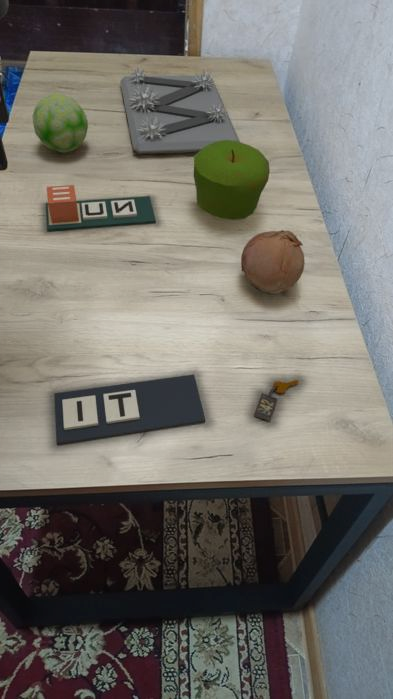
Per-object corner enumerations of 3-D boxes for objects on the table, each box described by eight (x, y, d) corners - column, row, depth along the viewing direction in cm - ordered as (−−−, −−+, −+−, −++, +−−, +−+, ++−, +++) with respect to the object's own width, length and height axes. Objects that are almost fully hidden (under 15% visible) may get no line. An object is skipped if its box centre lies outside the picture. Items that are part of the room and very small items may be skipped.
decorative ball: (36, 162, 92) (25, 110, 84) (40, 134, 98) (31, 82, 90) (89, 163, 93) (83, 111, 85) (91, 135, 99) (85, 84, 91)
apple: (190, 228, 84) (194, 169, 75) (191, 186, 91) (195, 127, 82) (262, 232, 84) (275, 174, 75) (258, 190, 92) (269, 132, 83)
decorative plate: (241, 154, 99) (246, 120, 93) (134, 158, 95) (133, 122, 90) (211, 84, 116) (214, 51, 111) (120, 85, 113) (118, 51, 107)
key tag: (267, 424, 61) (268, 422, 61) (247, 411, 62) (248, 409, 62) (299, 381, 66) (300, 379, 65) (279, 370, 67) (280, 367, 66)
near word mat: (57, 445, 58) (55, 440, 57) (54, 395, 62) (53, 390, 61) (205, 422, 61) (206, 417, 60) (193, 376, 65) (194, 371, 64)
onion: (275, 282, 81) (305, 228, 76) (292, 313, 74) (327, 256, 69) (224, 266, 78) (252, 208, 73) (237, 296, 71) (270, 234, 66)
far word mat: (47, 231, 81) (46, 225, 80) (46, 205, 85) (44, 199, 84) (155, 223, 84) (155, 217, 83) (149, 198, 88) (149, 192, 87)
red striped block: (51, 223, 81) (47, 202, 78) (50, 207, 84) (46, 186, 80) (79, 221, 82) (75, 200, 79) (76, 205, 84) (73, 184, 81)
